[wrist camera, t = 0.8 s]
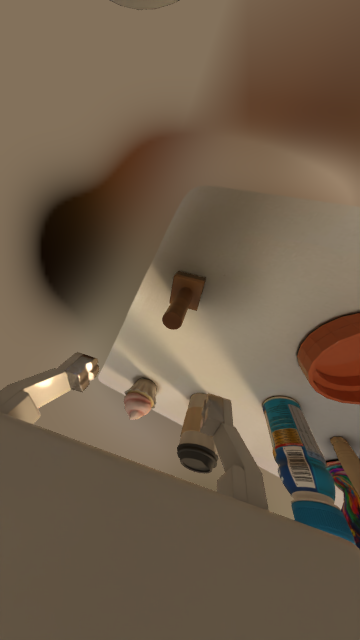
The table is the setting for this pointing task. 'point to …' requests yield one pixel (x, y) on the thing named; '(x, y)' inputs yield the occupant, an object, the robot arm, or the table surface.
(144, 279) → the table surface
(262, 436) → the table surface
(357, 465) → the handle
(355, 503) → the vase
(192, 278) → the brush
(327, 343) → the bowl
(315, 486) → the beverage bottle
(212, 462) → the coffee cup
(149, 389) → the cupcake
